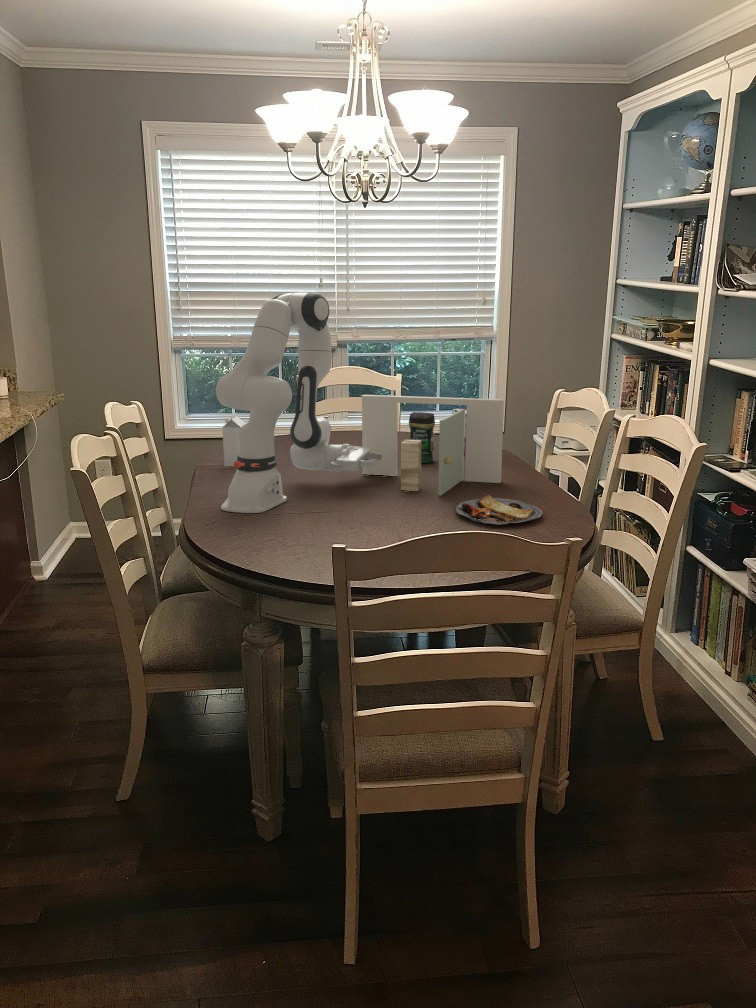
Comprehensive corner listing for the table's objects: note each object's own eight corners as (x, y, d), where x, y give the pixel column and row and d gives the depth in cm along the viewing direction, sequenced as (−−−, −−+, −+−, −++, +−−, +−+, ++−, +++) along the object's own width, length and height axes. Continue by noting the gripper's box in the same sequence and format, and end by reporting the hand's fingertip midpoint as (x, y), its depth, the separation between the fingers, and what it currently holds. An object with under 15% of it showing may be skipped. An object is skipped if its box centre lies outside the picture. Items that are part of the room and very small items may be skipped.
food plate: (439, 513, 239) (439, 501, 238) (492, 499, 253) (493, 489, 252) (502, 535, 221) (503, 523, 220) (556, 520, 235) (557, 508, 234)
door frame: (500, 483, 272) (503, 400, 264) (362, 475, 283) (361, 395, 275) (500, 481, 274) (504, 399, 266) (364, 473, 285) (363, 394, 277)
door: (468, 479, 274) (470, 409, 268) (447, 496, 255) (448, 421, 248) (460, 478, 275) (462, 409, 269) (438, 495, 256) (439, 420, 249)
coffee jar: (405, 463, 300) (406, 413, 295) (411, 458, 308) (411, 410, 302) (431, 464, 298) (431, 414, 292) (436, 460, 305) (437, 411, 300)
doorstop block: (417, 492, 262) (417, 443, 257) (400, 491, 263) (401, 442, 258) (420, 487, 267) (421, 440, 262) (404, 486, 268) (404, 439, 264)
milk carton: (248, 463, 300) (245, 413, 295) (243, 468, 294) (240, 416, 288) (229, 463, 301) (226, 412, 296) (224, 467, 294) (221, 416, 289)
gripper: (328, 455, 258) (370, 458, 254) (346, 442, 277) (385, 444, 273) (328, 475, 260) (370, 477, 256) (346, 460, 279) (385, 462, 275)
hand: (378, 460), depth 265 cm, fingers open, 8 cm apart
